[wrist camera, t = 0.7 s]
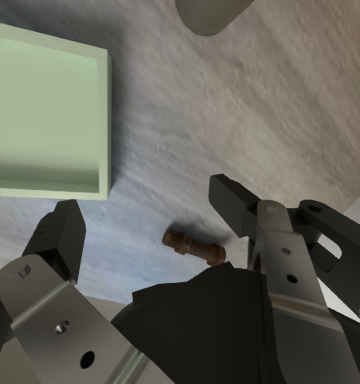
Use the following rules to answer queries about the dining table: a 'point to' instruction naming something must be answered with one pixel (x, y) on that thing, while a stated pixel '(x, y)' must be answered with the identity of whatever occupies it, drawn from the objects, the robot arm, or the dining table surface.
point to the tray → (54, 117)
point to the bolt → (194, 248)
